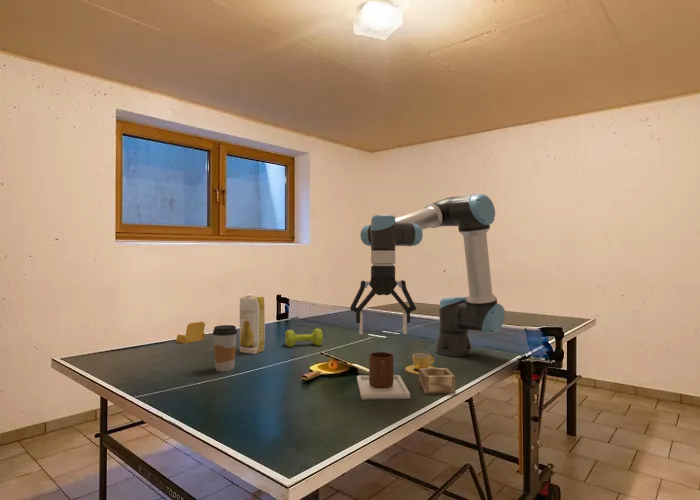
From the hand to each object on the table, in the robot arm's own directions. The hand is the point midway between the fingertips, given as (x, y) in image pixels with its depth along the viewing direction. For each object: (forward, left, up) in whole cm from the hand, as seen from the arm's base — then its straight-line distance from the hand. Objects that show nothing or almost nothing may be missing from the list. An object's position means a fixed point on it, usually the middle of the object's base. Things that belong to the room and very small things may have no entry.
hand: (382, 333), depth 132 cm
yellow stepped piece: (+80, -70, -17) cm, 108 cm away
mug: (0, +1, -16) cm, 16 cm away
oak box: (-17, +1, -17) cm, 24 cm away
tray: (0, +1, -17) cm, 17 cm away
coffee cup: (+53, -22, -17) cm, 60 cm away
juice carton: (+48, -48, -17) cm, 70 cm away
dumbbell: (+28, -59, -17) cm, 68 cm away
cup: (-17, -19, -17) cm, 31 cm away
